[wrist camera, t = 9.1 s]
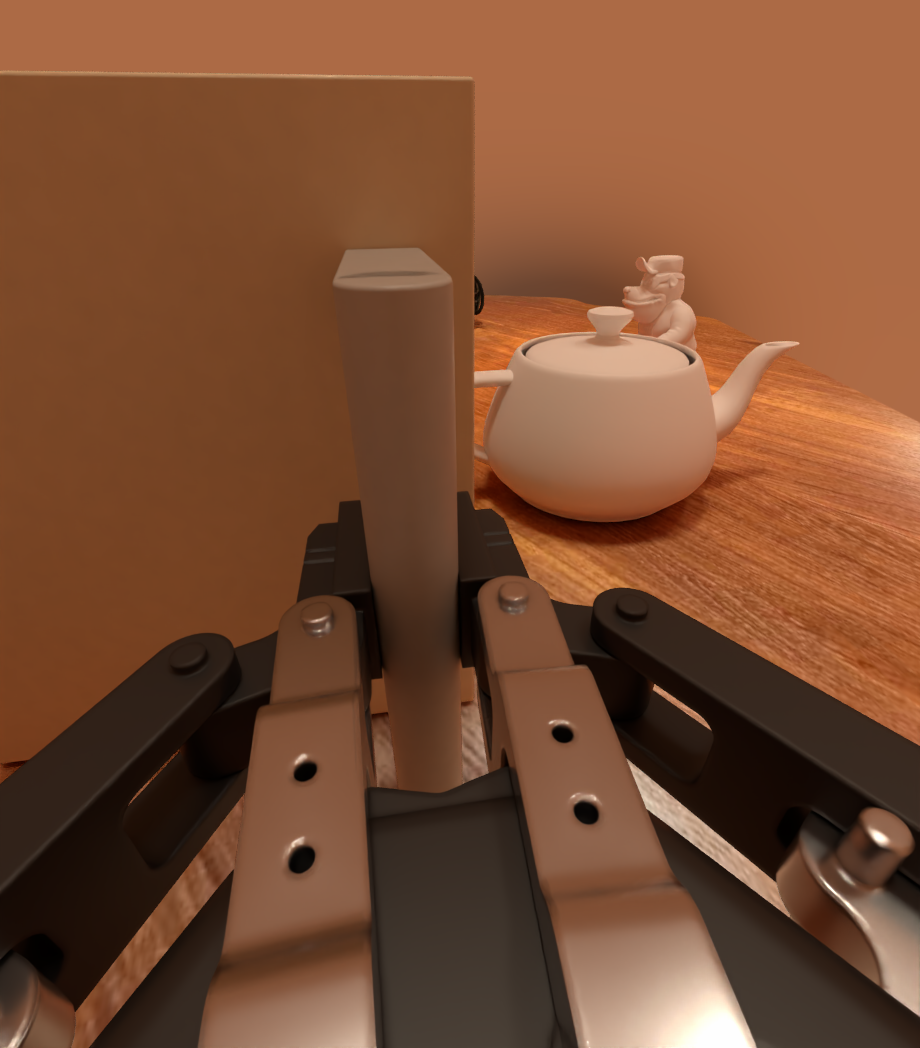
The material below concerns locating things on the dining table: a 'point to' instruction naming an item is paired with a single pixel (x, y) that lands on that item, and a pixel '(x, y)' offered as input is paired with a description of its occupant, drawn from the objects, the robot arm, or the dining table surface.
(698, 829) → the dining table surface
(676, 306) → the figurine
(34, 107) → the peach cabinet door
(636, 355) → the teapot
